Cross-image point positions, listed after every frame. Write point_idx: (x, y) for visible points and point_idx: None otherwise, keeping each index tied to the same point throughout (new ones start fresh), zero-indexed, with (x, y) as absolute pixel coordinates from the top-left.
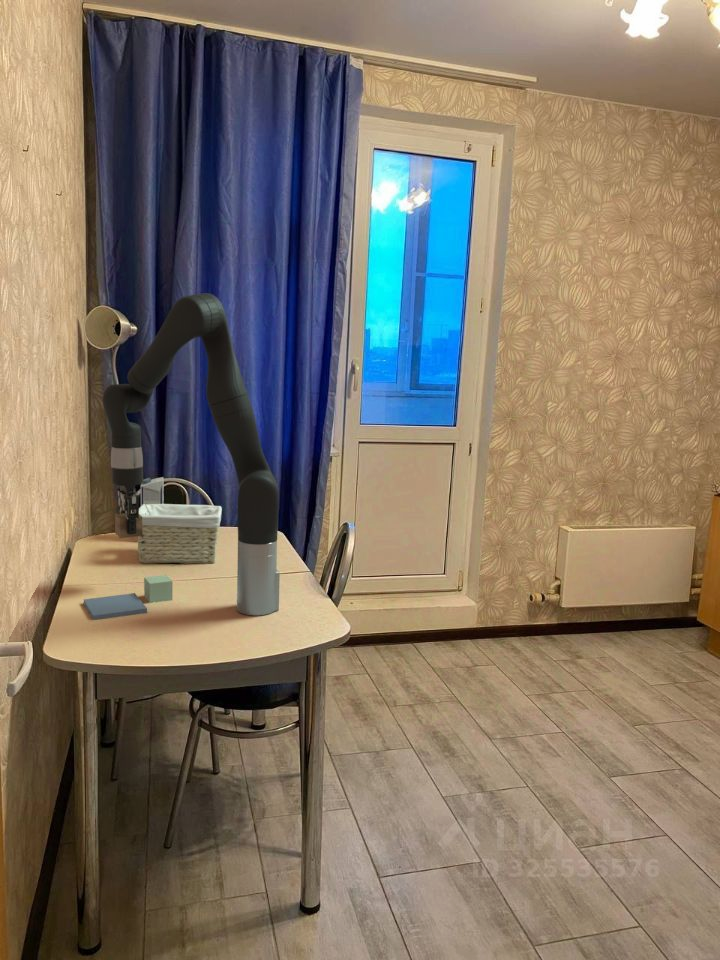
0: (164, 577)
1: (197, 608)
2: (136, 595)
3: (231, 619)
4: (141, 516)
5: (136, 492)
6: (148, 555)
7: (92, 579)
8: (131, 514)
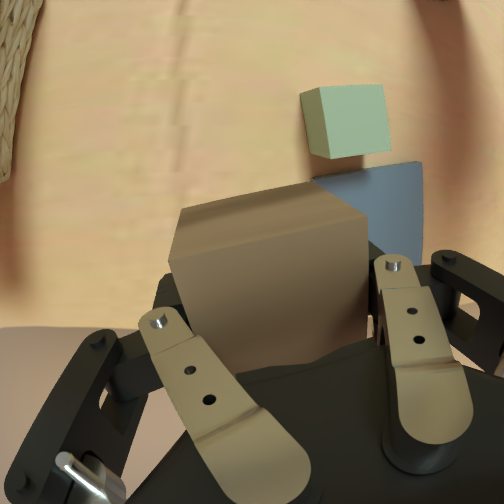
0: (345, 98)
1: (414, 55)
2: (335, 176)
3: (465, 28)
4: (363, 221)
5: (466, 426)
6: (3, 154)
7: (138, 287)
8: (457, 306)
